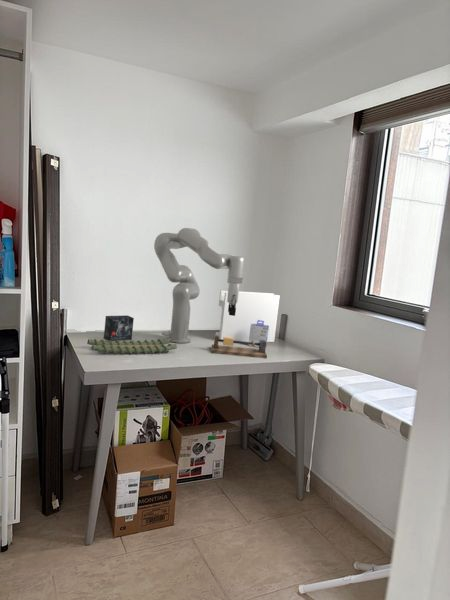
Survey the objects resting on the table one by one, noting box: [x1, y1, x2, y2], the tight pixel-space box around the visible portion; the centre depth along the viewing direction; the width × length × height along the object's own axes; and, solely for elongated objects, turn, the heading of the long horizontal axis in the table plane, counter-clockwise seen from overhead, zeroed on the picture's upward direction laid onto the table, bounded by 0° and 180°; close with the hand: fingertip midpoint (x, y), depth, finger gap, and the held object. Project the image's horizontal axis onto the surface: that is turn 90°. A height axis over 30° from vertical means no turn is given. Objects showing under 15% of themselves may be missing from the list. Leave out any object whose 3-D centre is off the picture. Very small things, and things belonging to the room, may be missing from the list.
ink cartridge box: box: [247, 320, 269, 348], centre depth 259 cm, size 10×6×14 cm, turn 78°
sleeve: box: [222, 337, 234, 347], centre depth 240 cm, size 5×4×4 cm
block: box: [214, 289, 281, 343], centre depth 271 cm, size 35×8×28 cm, turn 114°
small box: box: [103, 314, 135, 342], centre depth 241 cm, size 13×7×12 cm, turn 131°
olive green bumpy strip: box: [86, 338, 178, 355], centre depth 222 cm, size 41×14×5 cm, turn 117°
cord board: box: [211, 335, 268, 359], centre depth 240 cm, size 28×12×8 cm, turn 92°
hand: (231, 313), depth 238 cm, fingers open, 9 cm apart
